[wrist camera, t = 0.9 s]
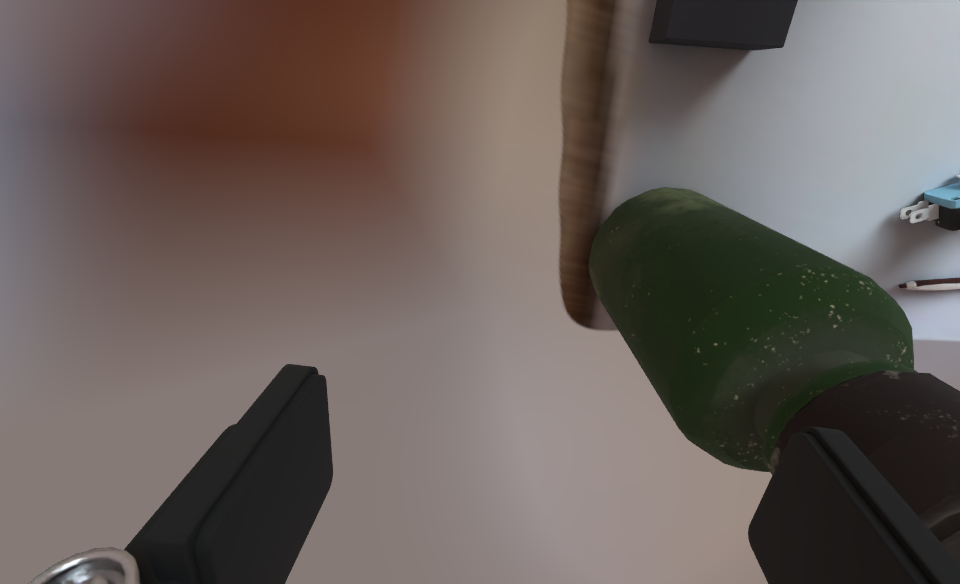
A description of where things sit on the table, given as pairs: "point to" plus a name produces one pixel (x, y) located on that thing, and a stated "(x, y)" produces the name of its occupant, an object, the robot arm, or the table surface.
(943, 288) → the pen
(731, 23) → the small black block
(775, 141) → the table surface
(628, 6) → the table surface
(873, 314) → the green bottle
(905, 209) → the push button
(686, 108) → the table surface
